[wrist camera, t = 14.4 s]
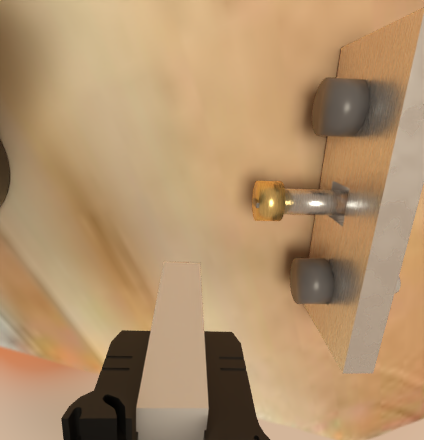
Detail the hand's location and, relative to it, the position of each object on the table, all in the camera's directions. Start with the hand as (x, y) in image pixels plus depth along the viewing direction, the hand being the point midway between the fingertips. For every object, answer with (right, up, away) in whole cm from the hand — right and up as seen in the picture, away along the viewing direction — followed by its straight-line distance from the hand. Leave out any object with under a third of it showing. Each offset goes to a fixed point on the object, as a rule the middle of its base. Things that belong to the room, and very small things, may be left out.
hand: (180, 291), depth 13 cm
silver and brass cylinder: (+11, +5, +20) cm, 23 cm away
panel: (+18, +6, +23) cm, 30 cm away
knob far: (+16, -3, +23) cm, 29 cm away
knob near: (+17, +14, +18) cm, 28 cm away
